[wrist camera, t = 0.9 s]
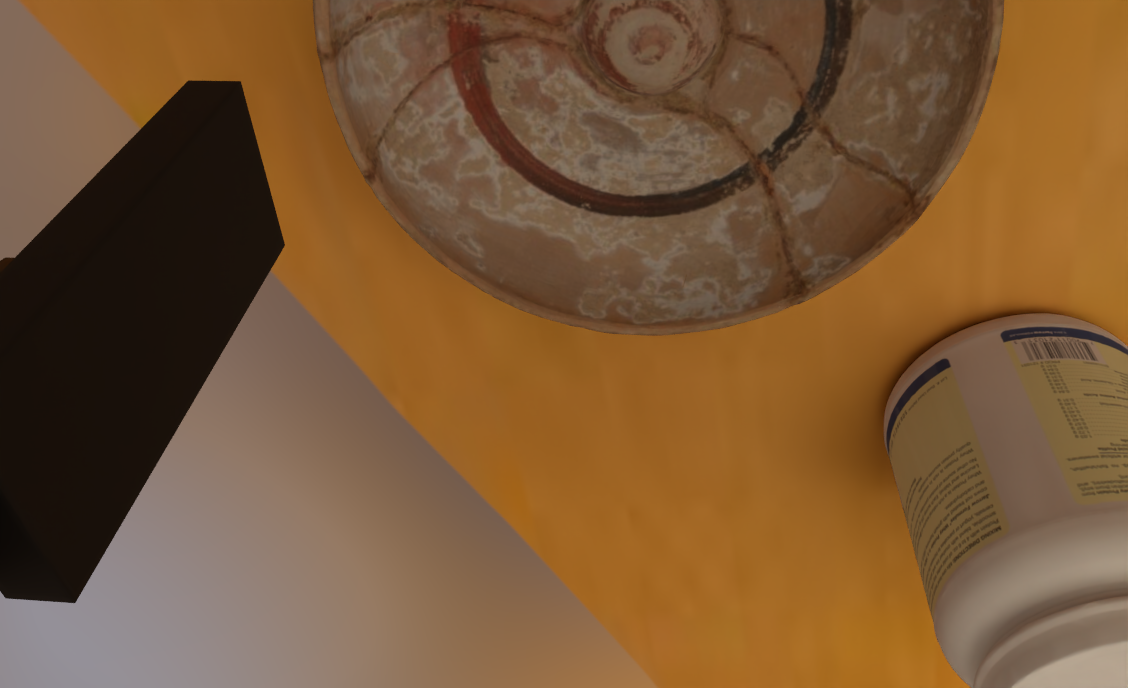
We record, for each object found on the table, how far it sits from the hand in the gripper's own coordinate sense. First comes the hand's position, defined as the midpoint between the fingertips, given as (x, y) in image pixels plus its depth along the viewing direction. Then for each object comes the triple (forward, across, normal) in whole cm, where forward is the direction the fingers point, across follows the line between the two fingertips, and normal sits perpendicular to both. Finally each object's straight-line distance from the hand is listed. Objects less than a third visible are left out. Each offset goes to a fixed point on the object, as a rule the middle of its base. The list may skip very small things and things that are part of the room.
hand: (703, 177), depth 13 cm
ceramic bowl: (+24, -1, -7) cm, 24 cm away
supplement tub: (+23, +18, -25) cm, 39 cm away
